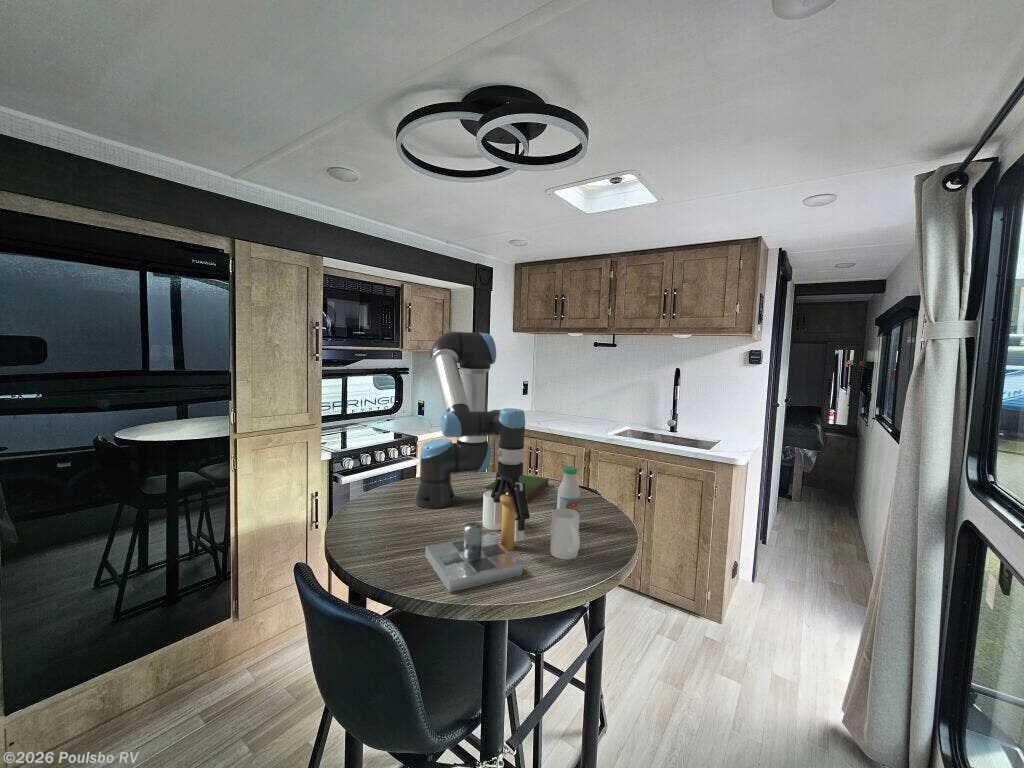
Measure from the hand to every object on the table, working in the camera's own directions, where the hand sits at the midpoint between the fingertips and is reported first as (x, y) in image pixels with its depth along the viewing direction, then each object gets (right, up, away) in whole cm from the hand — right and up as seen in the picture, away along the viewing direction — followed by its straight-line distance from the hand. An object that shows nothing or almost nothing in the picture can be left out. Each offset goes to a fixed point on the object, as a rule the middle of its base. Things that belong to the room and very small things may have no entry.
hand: (508, 531), depth 130 cm
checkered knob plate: (-10, -5, -11) cm, 16 cm away
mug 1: (-3, -4, +16) cm, 17 cm away
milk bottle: (+20, -4, +18) cm, 27 cm away
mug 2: (+17, -6, -4) cm, 18 cm away
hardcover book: (+4, -1, +53) cm, 53 cm away
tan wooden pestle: (0, -5, 0) cm, 5 cm away
